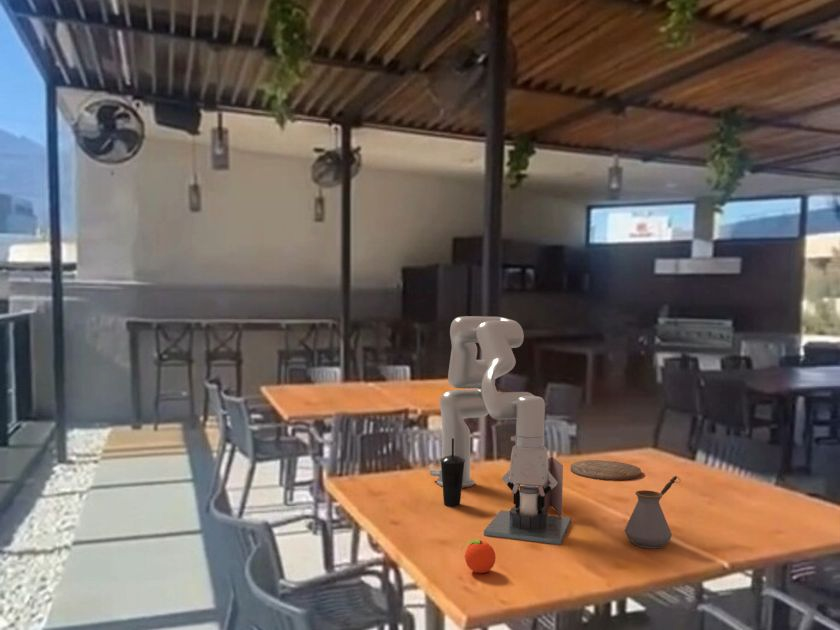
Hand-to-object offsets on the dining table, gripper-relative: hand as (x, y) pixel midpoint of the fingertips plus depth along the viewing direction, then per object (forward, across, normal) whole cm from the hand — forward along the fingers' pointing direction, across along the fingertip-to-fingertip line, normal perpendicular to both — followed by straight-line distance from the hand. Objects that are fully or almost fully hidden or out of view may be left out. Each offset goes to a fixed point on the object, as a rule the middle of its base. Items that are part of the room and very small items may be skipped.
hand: (528, 507), depth 190 cm
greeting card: (+6, +4, +18) cm, 19 cm away
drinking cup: (+6, -26, +14) cm, 30 cm away
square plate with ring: (+6, 0, 0) cm, 6 cm away
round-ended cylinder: (+4, 0, 0) cm, 4 cm away
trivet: (+6, +14, +75) cm, 77 cm away
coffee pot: (+6, +33, +4) cm, 34 cm away
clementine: (+6, -5, -35) cm, 36 cm away
